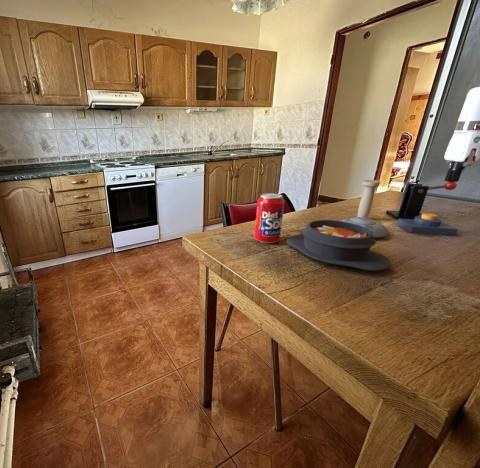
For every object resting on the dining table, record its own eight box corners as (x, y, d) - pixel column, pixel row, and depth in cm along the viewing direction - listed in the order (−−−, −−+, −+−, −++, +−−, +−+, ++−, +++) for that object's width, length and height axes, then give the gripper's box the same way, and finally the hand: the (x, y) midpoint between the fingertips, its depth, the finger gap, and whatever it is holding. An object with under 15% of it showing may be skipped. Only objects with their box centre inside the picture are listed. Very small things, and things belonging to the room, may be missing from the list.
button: (431, 218, 89) (432, 213, 88) (437, 221, 86) (439, 216, 85) (418, 217, 90) (419, 212, 89) (424, 220, 87) (426, 215, 86)
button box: (437, 226, 91) (441, 215, 90) (455, 235, 83) (460, 223, 82) (396, 224, 95) (400, 213, 93) (410, 232, 87) (414, 221, 85)
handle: (370, 218, 101) (381, 180, 96) (367, 222, 97) (378, 183, 91) (356, 216, 104) (365, 179, 99) (352, 220, 100) (362, 181, 95)
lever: (452, 188, 96) (453, 179, 95) (458, 190, 93) (460, 181, 92) (409, 193, 100) (409, 185, 99) (413, 195, 97) (414, 186, 96)
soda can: (261, 234, 89) (266, 191, 84) (283, 240, 83) (290, 195, 78) (249, 240, 84) (253, 195, 79) (271, 247, 79) (277, 199, 73)
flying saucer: (388, 244, 78) (393, 227, 76) (331, 235, 87) (334, 219, 85) (387, 230, 89) (391, 215, 87) (336, 223, 98) (339, 209, 96)
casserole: (399, 262, 68) (409, 232, 65) (372, 286, 58) (382, 252, 55) (305, 235, 87) (309, 211, 84) (272, 250, 77) (276, 223, 74)
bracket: (417, 214, 104) (428, 183, 100) (431, 221, 96) (444, 187, 92) (385, 213, 107) (394, 182, 103) (396, 219, 99) (406, 186, 95)
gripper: (505, 126, 80) (480, 185, 86) (468, 127, 93) (449, 178, 100) (474, 127, 82) (452, 184, 88) (442, 128, 95) (425, 177, 102)
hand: (451, 181), depth 94 cm, fingers closed
